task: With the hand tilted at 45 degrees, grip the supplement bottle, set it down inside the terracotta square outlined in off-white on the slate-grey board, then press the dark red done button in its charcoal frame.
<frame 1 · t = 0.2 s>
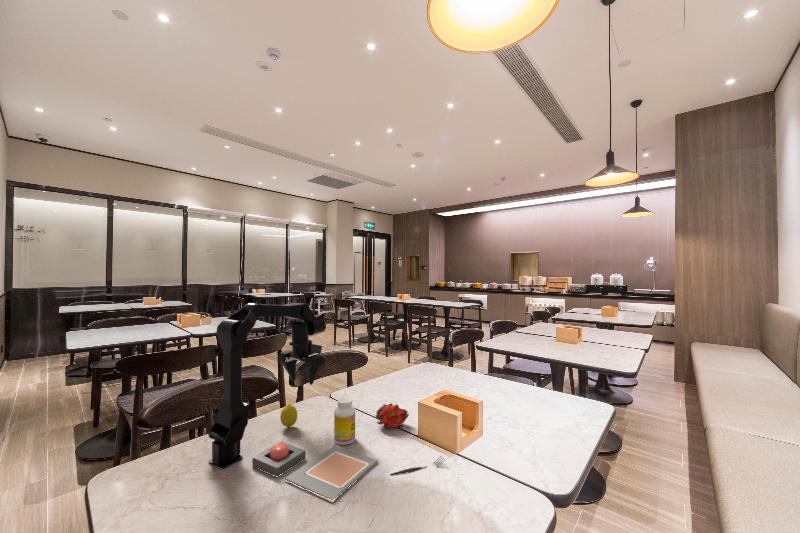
hand: (302, 382, 121), 14 cm above the table, tool pointing down, fingers open, 9 cm apart
supplement bottle: (344, 441, 109), on the table
done button: (279, 453, 97), point 3 cm above the table, slide at 0.0 cm
lemon: (288, 428, 118), on the table
done button frame: (279, 462, 97), on the table
picture board: (333, 471, 93), on the table
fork: (417, 471, 94), on the table
dragon fruit: (392, 426, 119), on the table
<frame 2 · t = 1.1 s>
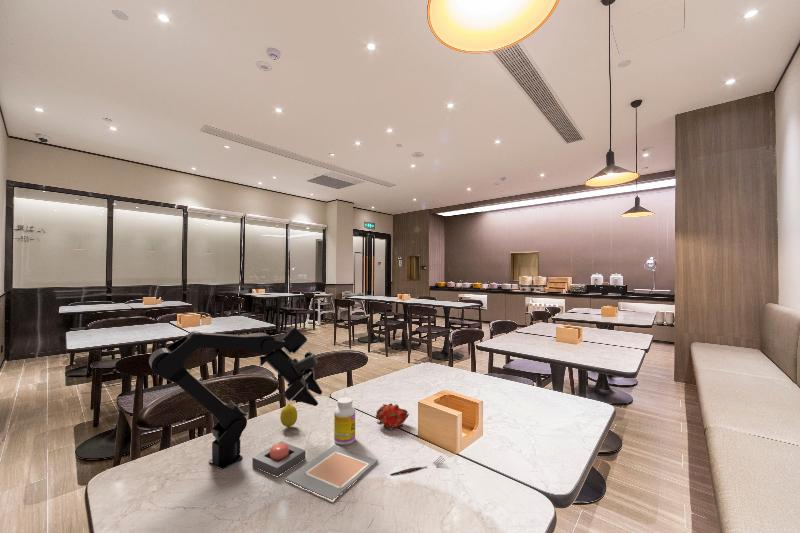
hand: (319, 398, 109), 13 cm above the table, tool tilted 45°, fingers open, 9 cm apart
nothing on the table moved.
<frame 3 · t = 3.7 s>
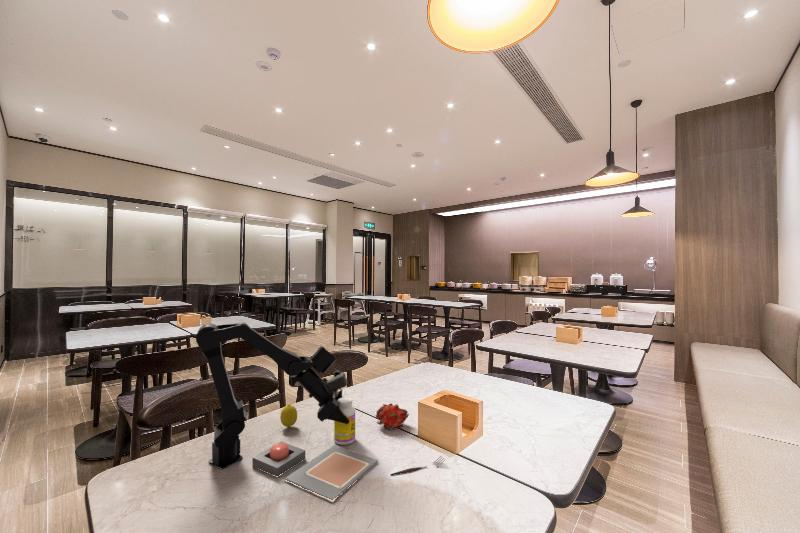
hand: (349, 417, 109), 7 cm above the table, tool tilted 45°, fingers closed on supplement bottle, 7 cm apart
supplement bottle: (344, 440, 109), on the table, touching gripper
everything else where it was.
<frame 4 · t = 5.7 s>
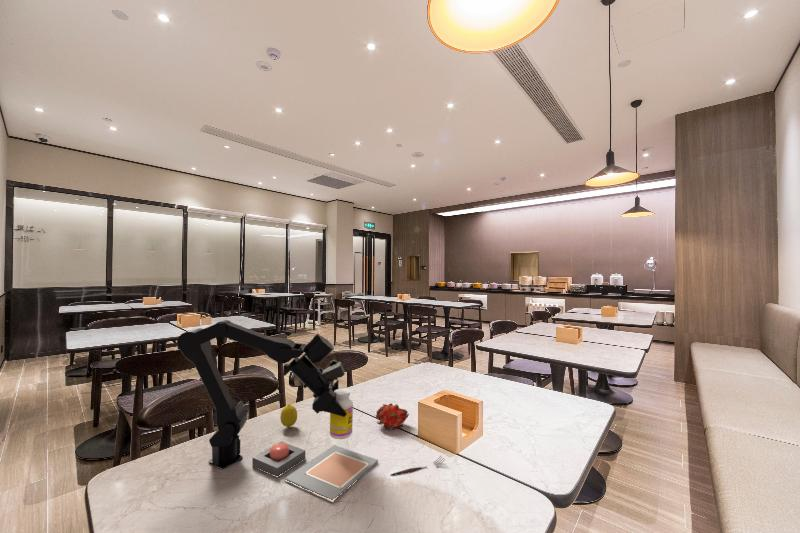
hand: (346, 410, 102), 13 cm above the table, tool tilted 45°, fingers closed on supplement bottle, 7 cm apart
supplement bottle: (341, 435, 102), point 5 cm above the table, touching gripper
everything else where it was.
when the fingers open (9 cm above the table, at t = 7.7 s): supplement bottle stays where it is, resting on picture board.
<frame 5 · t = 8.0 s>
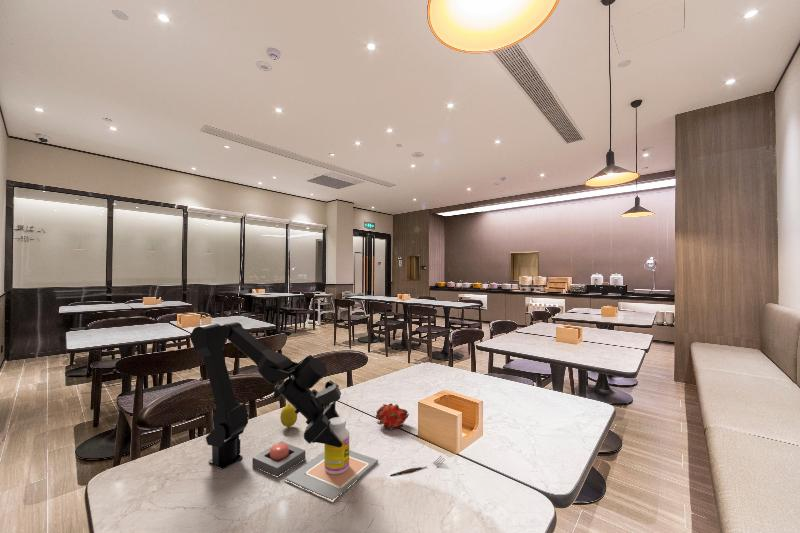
hand: (342, 437, 93), 9 cm above the table, tool tilted 45°, fingers open, 9 cm apart
supplement bottle: (337, 468, 93), point 1 cm above the table, touching picture board
everything else where it was.
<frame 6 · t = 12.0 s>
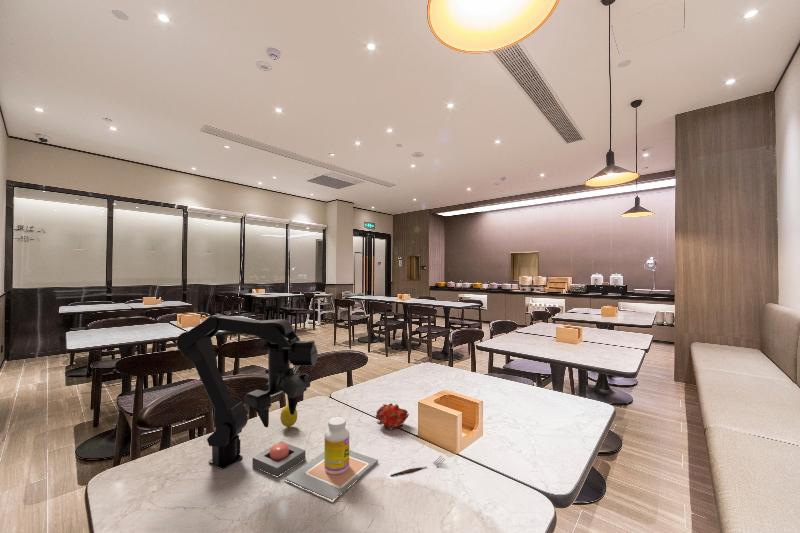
hand: (279, 420, 97), 12 cm above the table, tool pointing down, fingers open, 9 cm apart
nothing on the table moved.
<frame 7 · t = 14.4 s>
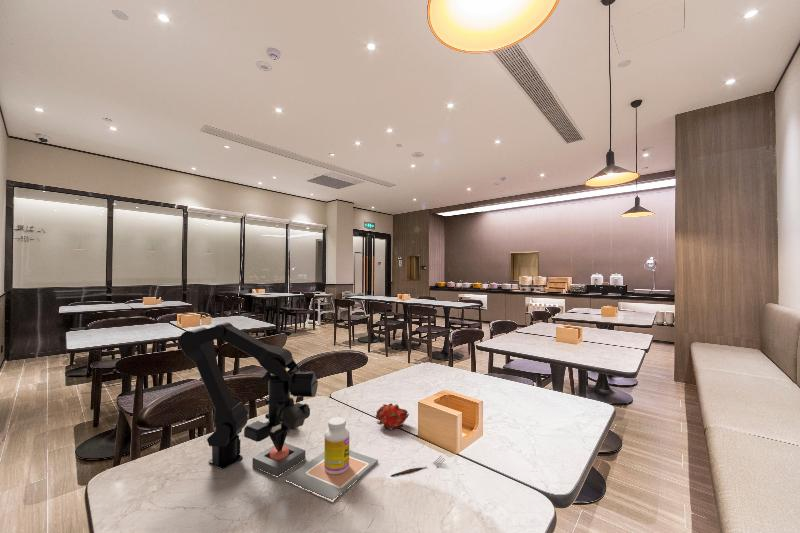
hand: (279, 450, 97), 3 cm above the table, tool pointing down, fingers closed, pressing on done button
done button: (279, 455, 97), point 2 cm above the table, slide at 0.8 cm, touching gripper
everything else where it was.
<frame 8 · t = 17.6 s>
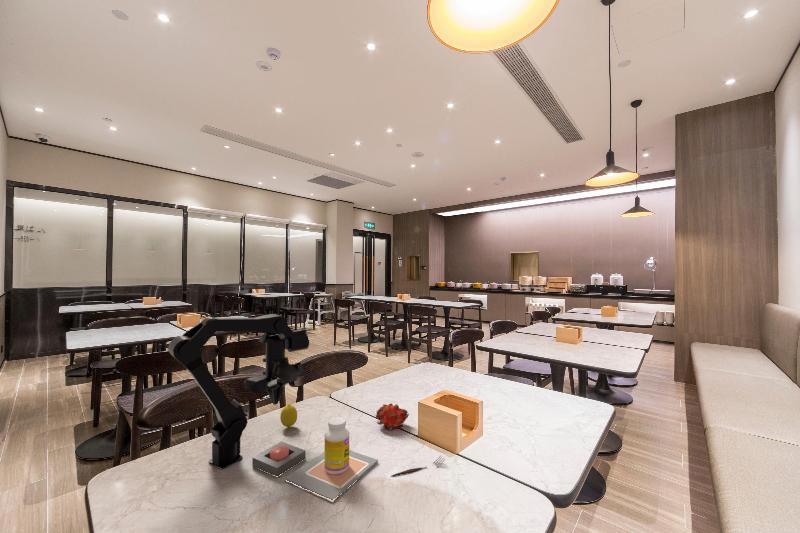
hand: (275, 404, 108), 12 cm above the table, tool pointing down, fingers closed
done button: (279, 456, 97), point 2 cm above the table, slide at 0.9 cm
everything else where it was.
at the end: supplement bottle 0.2 cm from the target spot, point 0.7 cm above the table; supplement bottle tilted 0°; done button slide at 0.9 cm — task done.
